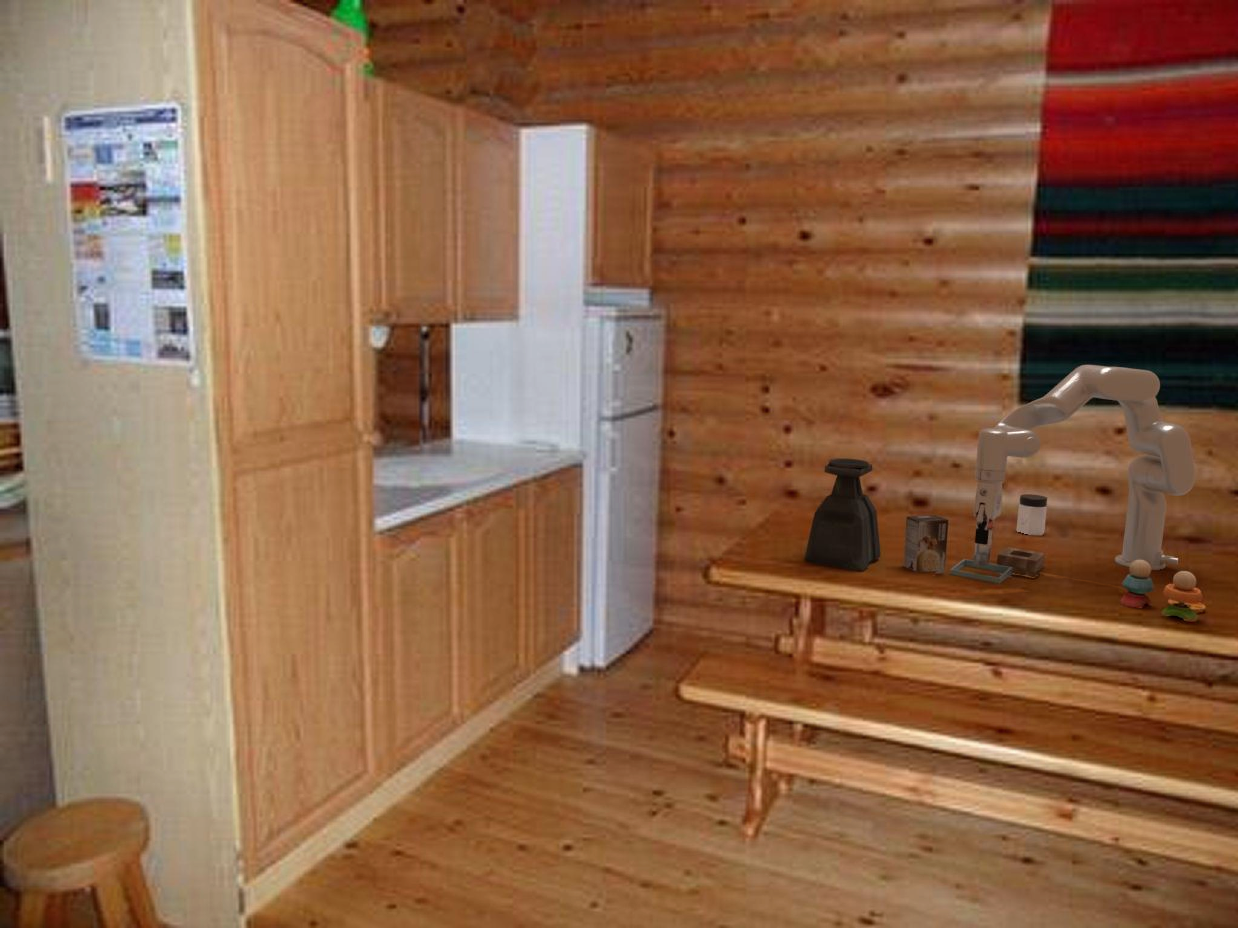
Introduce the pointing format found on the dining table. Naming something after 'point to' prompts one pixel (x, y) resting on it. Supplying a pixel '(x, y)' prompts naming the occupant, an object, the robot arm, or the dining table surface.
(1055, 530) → the dining table surface
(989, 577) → the tray
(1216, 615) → the dining table surface
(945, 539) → the coffee box
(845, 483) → the bottle
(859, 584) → the dining table surface
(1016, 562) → the block
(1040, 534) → the jar
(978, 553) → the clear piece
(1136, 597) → the wooden stacking toy
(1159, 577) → the dining table surface
